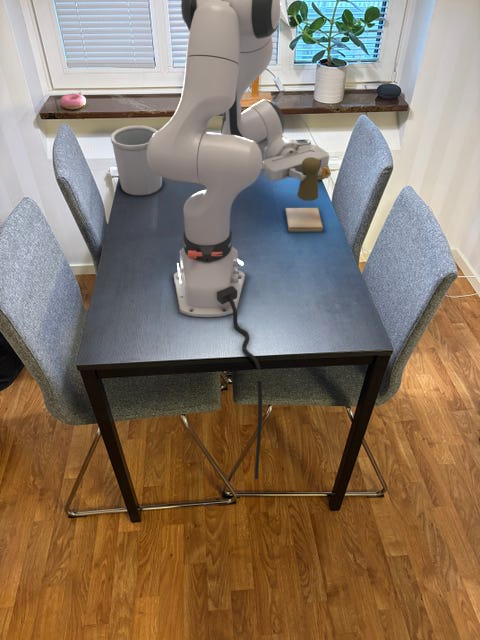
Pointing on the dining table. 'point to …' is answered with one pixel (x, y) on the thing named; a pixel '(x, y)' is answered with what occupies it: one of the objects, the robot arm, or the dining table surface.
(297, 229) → the serving board
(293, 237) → the dining table surface
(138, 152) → the utensil holder
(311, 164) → the olive brown pawn
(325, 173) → the pastry
